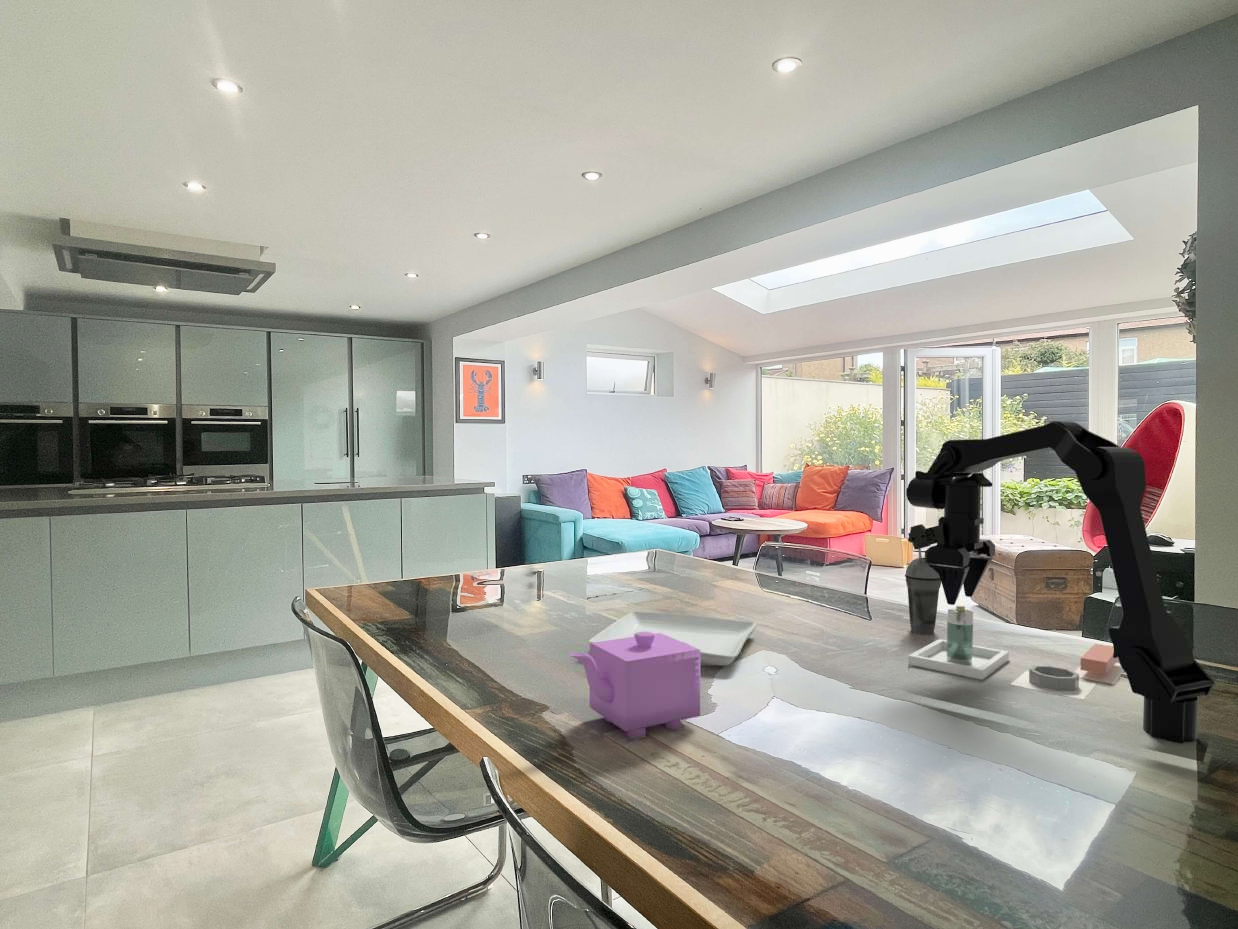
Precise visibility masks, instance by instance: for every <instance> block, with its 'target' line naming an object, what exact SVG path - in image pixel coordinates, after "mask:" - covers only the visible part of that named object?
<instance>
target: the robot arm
mask: <svg viewBox="0 0 1238 929" xmlns="http://www.w3.org/2000/svg"><path fill="white" fill-rule="evenodd" d="M1049 451H1054V452H1055V454H1056V455H1057V458H1059V460H1060V461H1061V462H1062V463H1063V464H1064V465H1066V466H1067V467H1068V468H1070V470H1072V471H1074V473H1075V476H1076V478H1077V480H1078V483H1079V485H1080V488H1081V490H1082V492H1083V494H1084V496H1085V497H1086V498H1087V499H1088V500H1089V502H1090V503H1091V504H1092V505H1093V506H1094V508H1095V509H1096V510H1097V511H1098V514H1099V517H1100V521H1101V525H1102V530H1103V533H1104V537H1105V541H1106V542H1105V543H1106V545H1107V546H1106V547H1107V550H1108V555H1109V559H1110V562H1111V563H1110V564H1111V568H1112V572H1113V576H1114V581H1115V585H1116V589H1117V593H1118V597H1119V601H1120V602H1119V603H1120V605H1121V610H1122V616H1121V619H1120V622H1119V625H1117V626H1112V627H1111V626H1110V627H1108V635H1109V637H1110V640H1111V642H1112V645H1113V646H1112V647H1114V653H1113V657H1114V658H1118V659H1119V660H1118V662H1119V663H1120V665H1121V667H1122V669H1123V670H1124V671H1123V672H1125V674H1126V676H1127V680H1128V683H1129V685H1130V689H1131V692H1132V694H1133V693H1134V694H1136V695H1140V696H1142V697H1143V715H1142V716H1143V717H1142V730H1143V731H1144V732H1145V733H1147V734H1149V735H1150V737H1151V738H1155V739H1159V740H1164V741H1167V742H1168V741H1169V742H1172V743H1177V744H1182V745H1183V744H1184V743H1193V742H1196V741H1197V740H1198V710H1199V705H1198V704H1199V698H1198V697H1202V696H1206V697H1207V696H1209V695H1210V694H1211V692H1212V690H1213V688H1214V686H1215V683H1216V682H1215V681H1214V679H1213V678H1212V677H1211V676H1210V675H1209V674H1208V673H1207V672H1206V670H1205V669H1204V668H1203V667H1202V666H1201V665H1200V663H1199V662H1198V661H1197V660H1196V659H1195V658H1194V655H1193V654H1194V653H1193V651H1192V649H1191V646H1190V644H1189V641H1188V639H1187V638H1186V636H1185V633H1184V631H1183V629H1182V627H1181V626H1180V625H1179V624H1178V623H1177V622H1176V621H1175V619H1173V617H1172V616H1171V615H1170V614H1169V613H1168V612H1169V611H1168V610H1167V608H1166V606H1165V602H1164V598H1163V594H1162V589H1161V586H1160V582H1159V578H1158V577H1159V576H1158V574H1157V569H1156V566H1155V562H1154V557H1153V555H1152V551H1151V545H1150V541H1149V537H1148V534H1147V529H1146V525H1145V521H1144V517H1143V513H1142V510H1141V504H1142V501H1143V497H1144V494H1145V490H1146V486H1147V479H1146V468H1145V467H1146V466H1145V460H1144V459H1143V456H1142V455H1141V454H1140V453H1139V452H1137V451H1135V450H1134V449H1132V448H1130V447H1124V446H1122V447H1121V446H1119V445H1118V444H1116V443H1115V442H1113V441H1111V440H1109V439H1107V438H1105V437H1103V436H1101V435H1098V434H1097V433H1095V432H1092V431H1089V430H1088V429H1086V428H1085V427H1084V426H1082V425H1081V424H1078V422H1074V421H1060V420H1059V421H1058V420H1055V421H1053V420H1052V421H1050V422H1049V423H1046V424H1043V425H1039V426H1036V427H1031V428H1027V429H1023V430H1019V431H1014V432H1010V433H1006V434H1002V435H998V436H993V437H989V438H980V439H977V438H976V439H974V438H973V439H949V440H947V441H944V443H942V445H941V447H940V451H939V452H938V455H937V456H936V457H935V459H934V461H933V462H932V463H931V465H930V467H929V468H928V470H916V471H915V474H914V475H915V477H913V478H912V479H911V480H910V481H909V483H908V485H907V488H906V489H905V493H906V494H905V495H906V498H907V500H908V502H909V504H910V505H912V506H913V507H916V508H925V509H936V510H943V509H944V512H943V514H944V515H943V516H940V518H938V522H937V523H938V525H935V526H932V527H931V526H930V527H927V528H926V527H925V526H924V525H923V524H918V525H913V526H910V531H909V533H908V538H907V541H908V543H912V546H913V549H914V550H915V551H917V550H918V549H920V548H921V549H924V548H927V549H926V550H925V551H924V558H925V563H929V564H928V566H929V567H931V568H933V569H934V570H935V571H936V572H937V573H938V574H939V576H940V579H941V585H942V586H941V587H942V589H943V593H944V596H945V599H946V603H947V604H948V605H950V606H955V604H956V602H957V600H958V597H959V596H960V593H961V590H962V587H963V591H964V592H963V593H964V596H965V597H966V598H967V597H968V598H971V597H974V596H973V595H974V594H975V592H976V590H977V588H978V586H979V583H981V580H982V578H983V576H984V574H985V572H986V570H987V568H988V567H989V565H990V563H991V562H992V560H993V557H995V556H996V545H995V543H994V542H993V541H992V540H991V539H985V538H983V539H982V538H981V533H980V532H981V525H983V524H984V520H985V519H984V517H981V495H982V493H981V492H982V490H981V488H990V487H993V482H991V480H989V478H987V477H985V475H984V473H982V472H983V471H986V470H987V469H990V468H993V467H994V466H996V465H997V464H998V463H999V462H1002V461H1006V460H1009V459H1015V458H1021V457H1026V456H1030V455H1034V454H1035V455H1036V454H1039V453H1045V452H1049ZM934 544H936V545H934ZM931 545H932V546H931ZM985 555H986V556H985Z"/></svg>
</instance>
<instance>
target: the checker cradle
mask: <svg viewBox="0 0 1238 929" xmlns="http://www.w3.org/2000/svg"><path fill="white" fill-rule="evenodd" d="M1080 667H1081V664H1080V665H1079V666H1078V667H1077V668H1076V669H1075V670H1074V671H1073V670H1071V669H1069V668H1064V667H1059V666H1053V665H1033V666H1031V667H1030V668H1029V670H1026V671H1025V672H1023V673H1022V674H1021V675H1020V676H1018V677H1017V678H1016V679H1015V680H1013V681H1012V682H1011V683H1010V684H1009V685H1010V686H1014V687H1019V688H1023V689H1024V688H1025V689H1029V690H1034V691H1038V692H1045V693H1048V694H1053V695H1058V696H1063V697H1068V698H1072V699H1076V700H1083V701H1084V700H1085V699H1086V698H1087V697H1088V695H1089V694H1090V693H1091V692H1092V690H1093V689H1094V688H1096V686H1097V683H1093V682H1088V681H1084V680H1079V679H1086V680H1090V681H1096V682H1101V683H1106V684H1111V685H1114V684H1116V682H1117V681H1118V680H1119V678H1120V677H1121V676H1122V675H1123V673H1124V672H1125V671H1124V670H1123V669H1122V667H1121V665H1120V663H1118V662H1116V663H1115V665H1114V666H1113V667H1112V668H1111V669H1110V671H1109V672H1108V673H1107V674H1101V673H1095V672H1090V671H1084V670H1080Z"/></svg>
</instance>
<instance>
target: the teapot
mask: <svg viewBox="0 0 1238 929" xmlns="http://www.w3.org/2000/svg"><path fill="white" fill-rule="evenodd" d="M634 636H635V637H628V638H621V639H614V640H608V641H601V642H594V643H591V644H590V643H589V653H585V652H577V653H571V654H570V655H569V657H571V658H574V659H577V660H578V661H579V662H581V664H582V666H583V668H584V671H585V676H586V679H587V683H588V686H589V709H592V710H593V711H594V712H596V713H597V714H599V715H600V716H601V717H603V718H604V720H605V721H607V722H608V723H612V724H613V725H614V726H616V727H618V728H619V729H620V730H622V731H624V732H626V733H627V737H629V738H633V739H641V738H645V737H646V735H647V734H646V733H647V728H650V727H655V726H659V725H663V724H664V725H665V728H668V729H670V730H680V729H683V728H684V724H683V723H682V720H686V719H691V718H696V717H699V716H701V665H700V662H701V651H700V649H697V648H695V647H693V646H690V645H689V644H687V643H685V642H681V641H678V640H676V639H674V638H671V637H669V636H666V635H664V634H661V633H656V634H654V633H651V632H637V633H635V634H634Z"/></svg>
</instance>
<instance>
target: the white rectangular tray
mask: <svg viewBox="0 0 1238 929" xmlns="http://www.w3.org/2000/svg"><path fill="white" fill-rule="evenodd" d="M1009 655H1010V652H1009V651H1007V650H1001V649H996V648H991V647H984V646H980V645H974V644H973V652H972V664H971V665H962V664H957V663H952V662H947V639H942V638H938V639H937V640H935V641H933V642H931V643H930V644H927V645H925V646H924V647H921V648H920V649H918V650H916V651H914V652H912V653H910V654H909V655H908V660H907V661H908V664H907V665H908V666H907V668H908V670H909V669H911V668H913V667H919V668H923V669H929V670H933V671H939V672H943V673H948V674H954V675H958V676H963V677H965V678H966V677H967V678H973V679H977V680H984V679H986V678H987V677H989V676H990V675H991V674H992V673H993V672H995V671H996V670H997V669H999V668H1000V667H1002V666H1003V665H1005V664H1006V663H1007V662H1008V661H1010V660H1009V659H1010V658H1009V657H1010V656H1009Z"/></svg>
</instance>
